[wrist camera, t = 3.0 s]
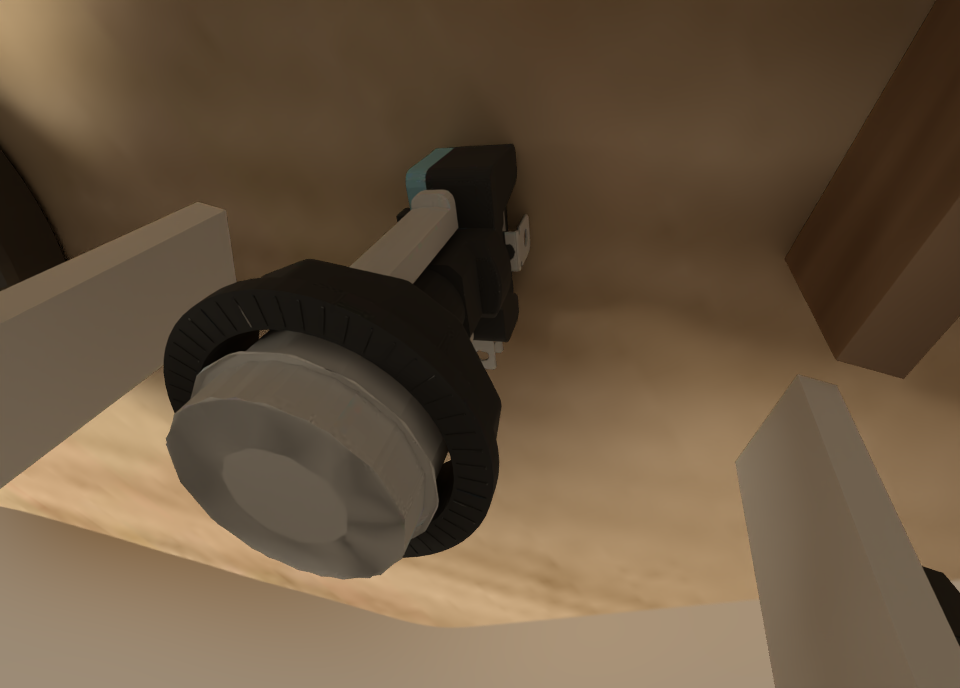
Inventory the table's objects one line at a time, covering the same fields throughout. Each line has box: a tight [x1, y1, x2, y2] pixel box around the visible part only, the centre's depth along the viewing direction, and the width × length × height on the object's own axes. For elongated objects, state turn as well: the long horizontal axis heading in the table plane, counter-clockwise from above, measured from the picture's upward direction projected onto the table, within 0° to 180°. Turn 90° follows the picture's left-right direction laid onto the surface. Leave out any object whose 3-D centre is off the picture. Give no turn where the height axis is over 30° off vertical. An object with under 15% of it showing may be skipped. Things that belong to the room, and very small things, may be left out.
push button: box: [164, 144, 530, 579], centre depth 11 cm, size 7×5×10 cm
